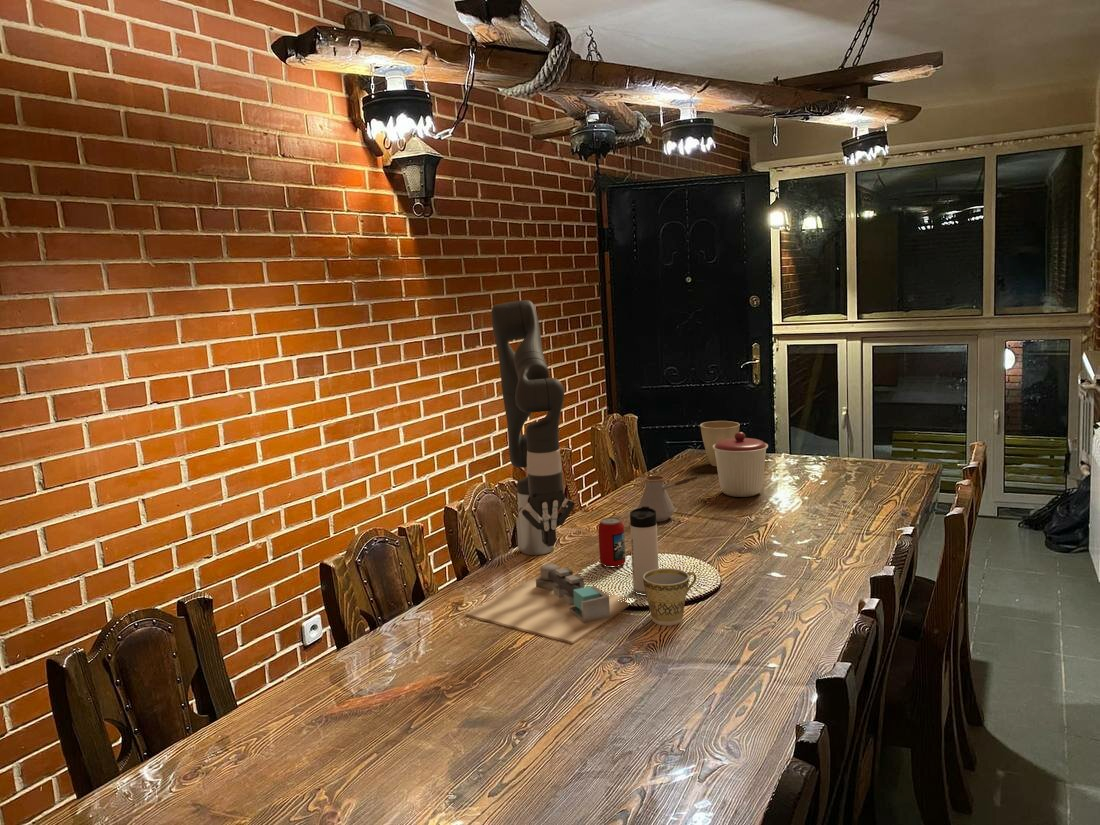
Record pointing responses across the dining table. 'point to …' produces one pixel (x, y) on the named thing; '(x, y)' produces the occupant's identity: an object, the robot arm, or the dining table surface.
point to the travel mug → (643, 545)
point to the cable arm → (568, 585)
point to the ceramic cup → (667, 594)
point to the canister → (740, 465)
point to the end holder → (593, 608)
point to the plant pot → (717, 435)
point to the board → (541, 611)
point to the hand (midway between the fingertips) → (549, 545)
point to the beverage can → (611, 542)
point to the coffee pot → (660, 496)
